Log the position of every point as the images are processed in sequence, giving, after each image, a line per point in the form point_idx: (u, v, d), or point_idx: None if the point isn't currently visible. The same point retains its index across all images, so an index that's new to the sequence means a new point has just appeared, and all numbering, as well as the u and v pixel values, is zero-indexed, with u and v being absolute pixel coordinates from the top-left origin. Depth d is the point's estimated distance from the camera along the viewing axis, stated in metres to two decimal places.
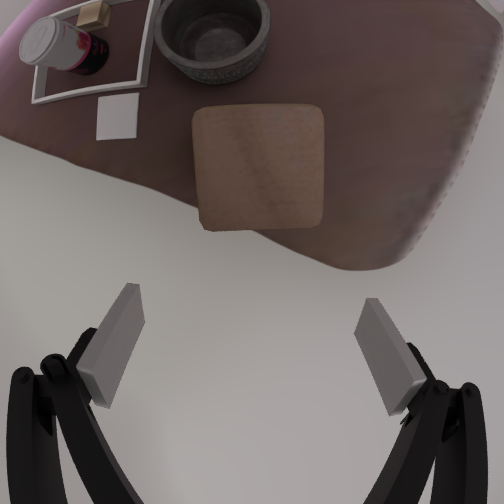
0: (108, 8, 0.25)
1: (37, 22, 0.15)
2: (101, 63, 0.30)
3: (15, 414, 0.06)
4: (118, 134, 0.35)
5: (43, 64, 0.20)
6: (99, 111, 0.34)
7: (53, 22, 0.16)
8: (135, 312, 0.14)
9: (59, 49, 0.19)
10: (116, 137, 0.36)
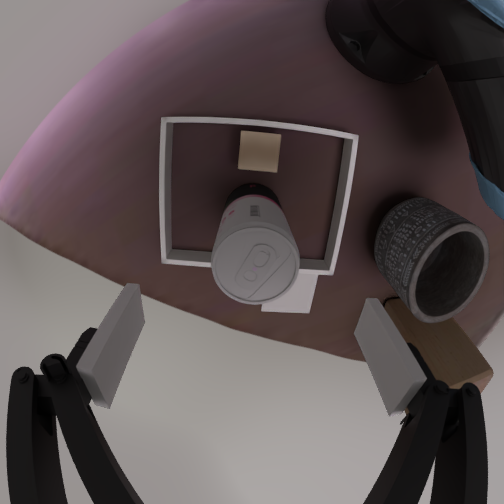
0: None
1: (249, 230, 0.19)
2: None
3: (15, 414, 0.06)
4: (289, 308, 0.39)
5: None
6: None
7: (293, 252, 0.19)
8: (135, 312, 0.14)
9: None
10: (287, 311, 0.39)
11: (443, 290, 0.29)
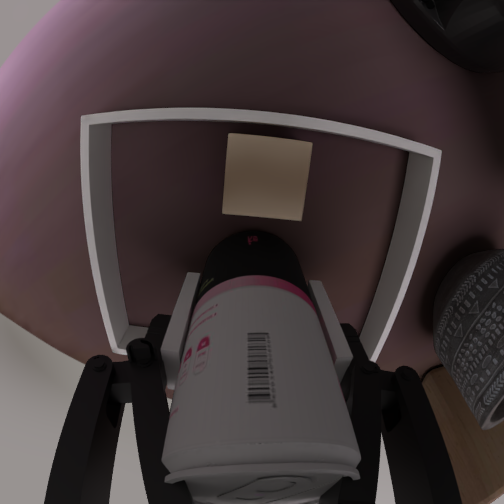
0: None
1: (245, 469, 0.05)
2: None
3: (81, 402, 0.07)
4: None
5: None
6: None
7: (353, 476, 0.06)
8: None
9: None
10: None
11: None
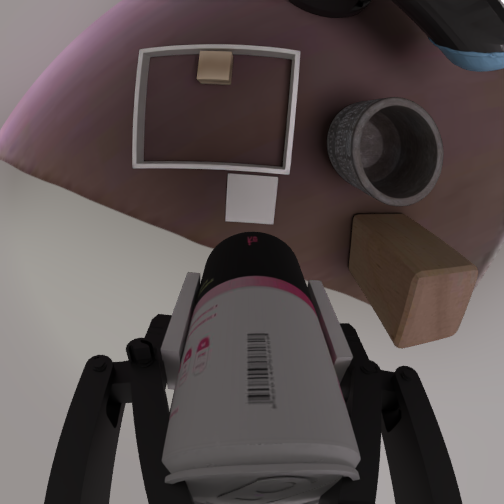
0: (232, 60, 0.30)
1: (244, 470, 0.05)
2: None
3: (81, 402, 0.07)
4: (253, 218, 0.41)
5: None
6: (229, 190, 0.39)
7: (353, 477, 0.06)
8: None
9: None
10: (250, 221, 0.41)
11: (404, 185, 0.30)
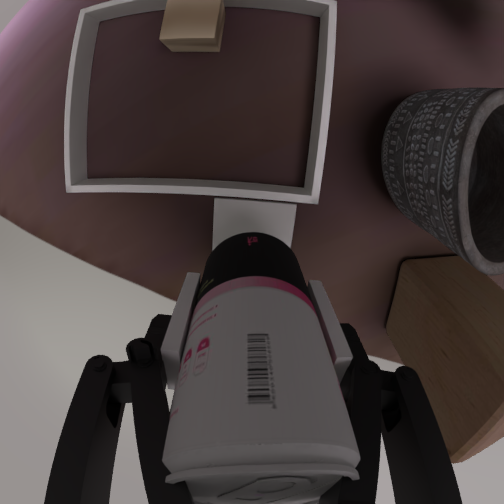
0: (223, 13, 0.16)
1: (244, 470, 0.05)
2: None
3: (81, 401, 0.07)
4: None
5: None
6: (217, 225, 0.24)
7: (352, 477, 0.06)
8: None
9: None
10: None
11: (492, 230, 0.16)
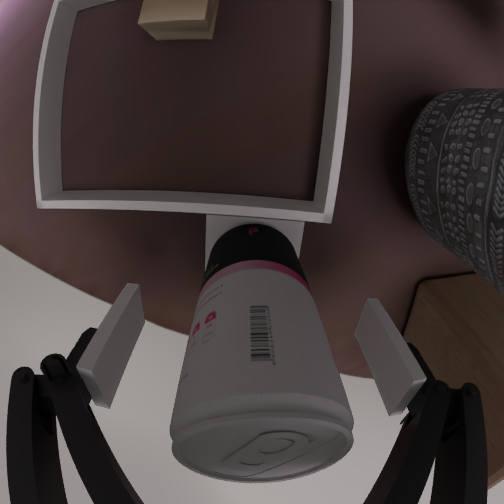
0: None
1: (248, 419, 0.06)
2: None
3: (15, 414, 0.06)
4: None
5: None
6: (210, 245, 0.20)
7: (346, 435, 0.07)
8: (135, 312, 0.14)
9: None
10: None
11: None
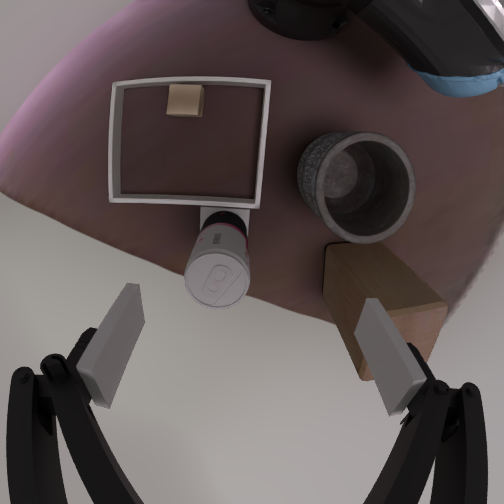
0: (203, 92, 0.32)
1: (209, 255, 0.26)
2: None
3: (15, 414, 0.06)
4: None
5: None
6: (202, 222, 0.40)
7: (243, 270, 0.26)
8: (135, 312, 0.14)
9: None
10: None
11: (374, 219, 0.32)
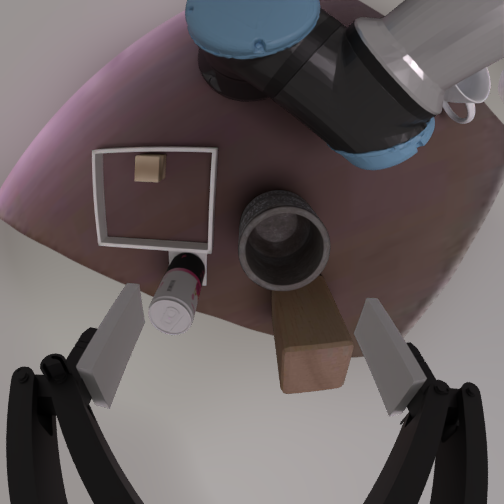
0: (164, 158, 0.41)
1: (163, 301, 0.36)
2: None
3: (15, 414, 0.06)
4: None
5: None
6: (170, 261, 0.50)
7: (186, 311, 0.36)
8: (135, 312, 0.14)
9: None
10: None
11: (300, 267, 0.41)
